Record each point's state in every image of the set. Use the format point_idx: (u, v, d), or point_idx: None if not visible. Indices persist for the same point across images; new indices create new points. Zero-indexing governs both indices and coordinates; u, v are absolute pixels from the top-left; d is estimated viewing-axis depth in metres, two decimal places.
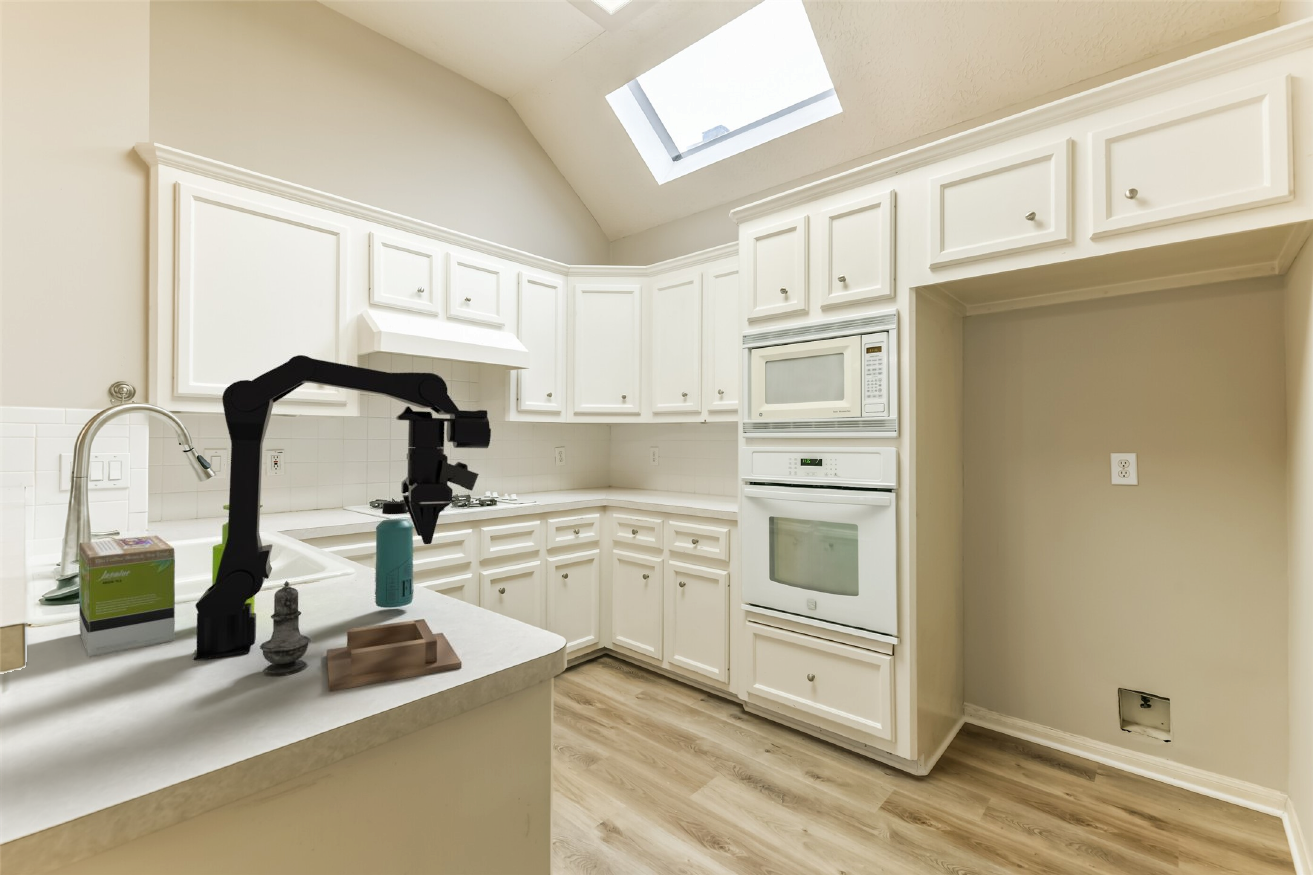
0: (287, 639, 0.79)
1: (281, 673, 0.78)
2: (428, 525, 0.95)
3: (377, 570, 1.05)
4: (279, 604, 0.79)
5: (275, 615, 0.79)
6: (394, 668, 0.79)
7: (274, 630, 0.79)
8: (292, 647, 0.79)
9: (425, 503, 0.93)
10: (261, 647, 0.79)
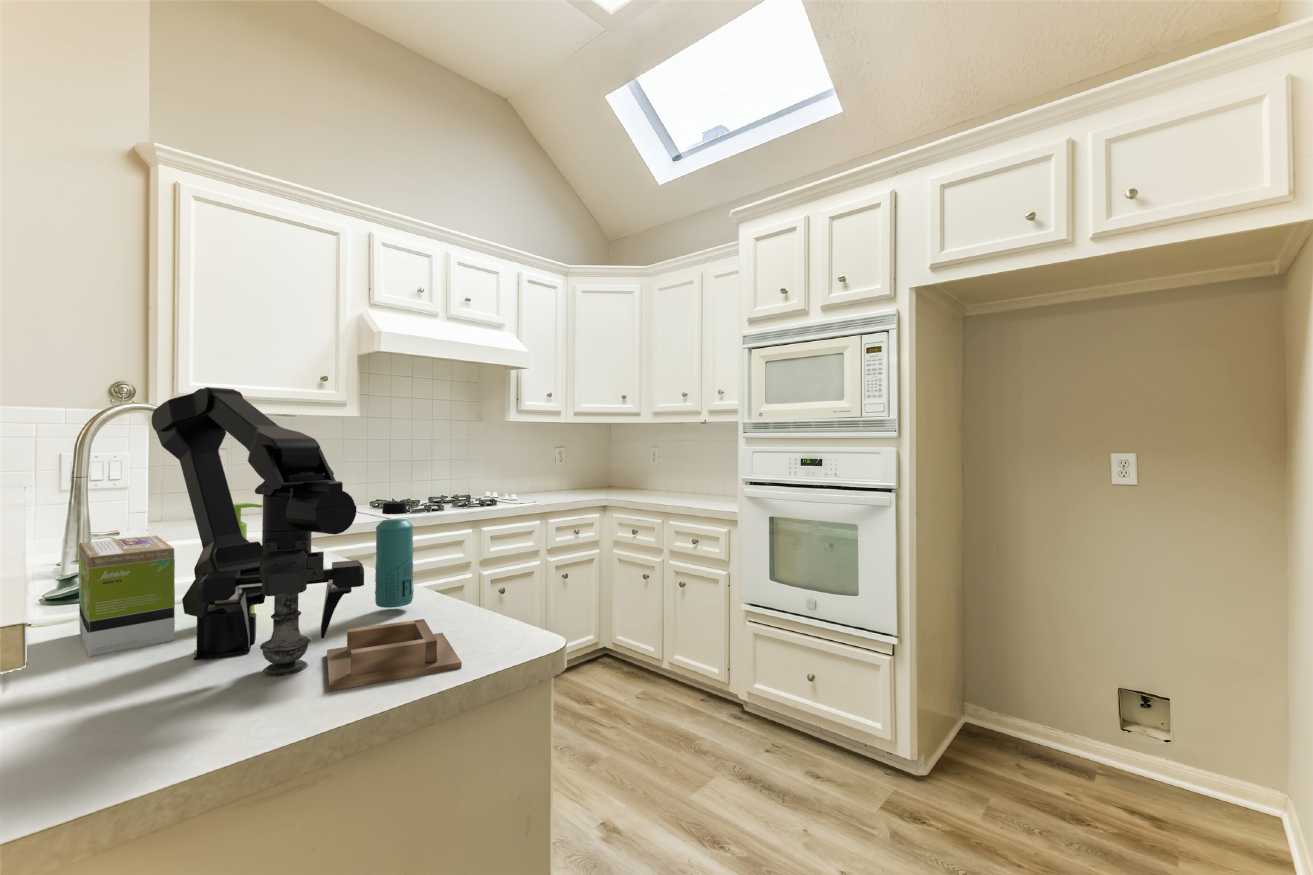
0: (287, 639, 0.79)
1: (281, 673, 0.78)
2: None
3: (377, 570, 1.05)
4: (279, 604, 0.79)
5: (275, 615, 0.79)
6: (394, 668, 0.79)
7: (274, 630, 0.79)
8: (292, 647, 0.79)
9: None
10: (261, 647, 0.79)
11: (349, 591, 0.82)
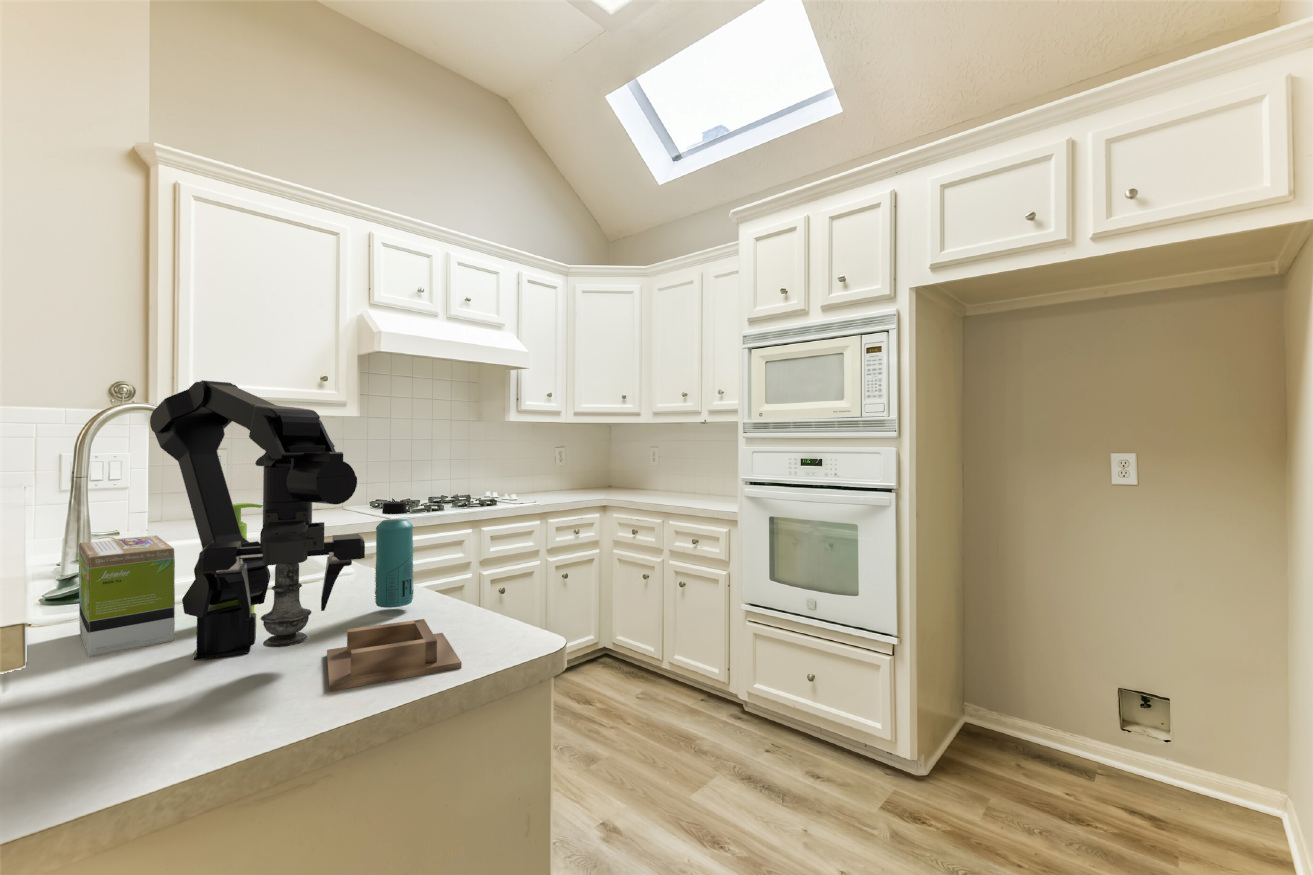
0: (290, 610, 0.79)
1: (285, 644, 0.79)
2: None
3: (377, 570, 1.05)
4: (281, 575, 0.79)
5: (277, 587, 0.79)
6: (394, 668, 0.79)
7: (276, 602, 0.79)
8: (296, 618, 0.79)
9: None
10: (263, 619, 0.78)
11: (349, 563, 0.82)
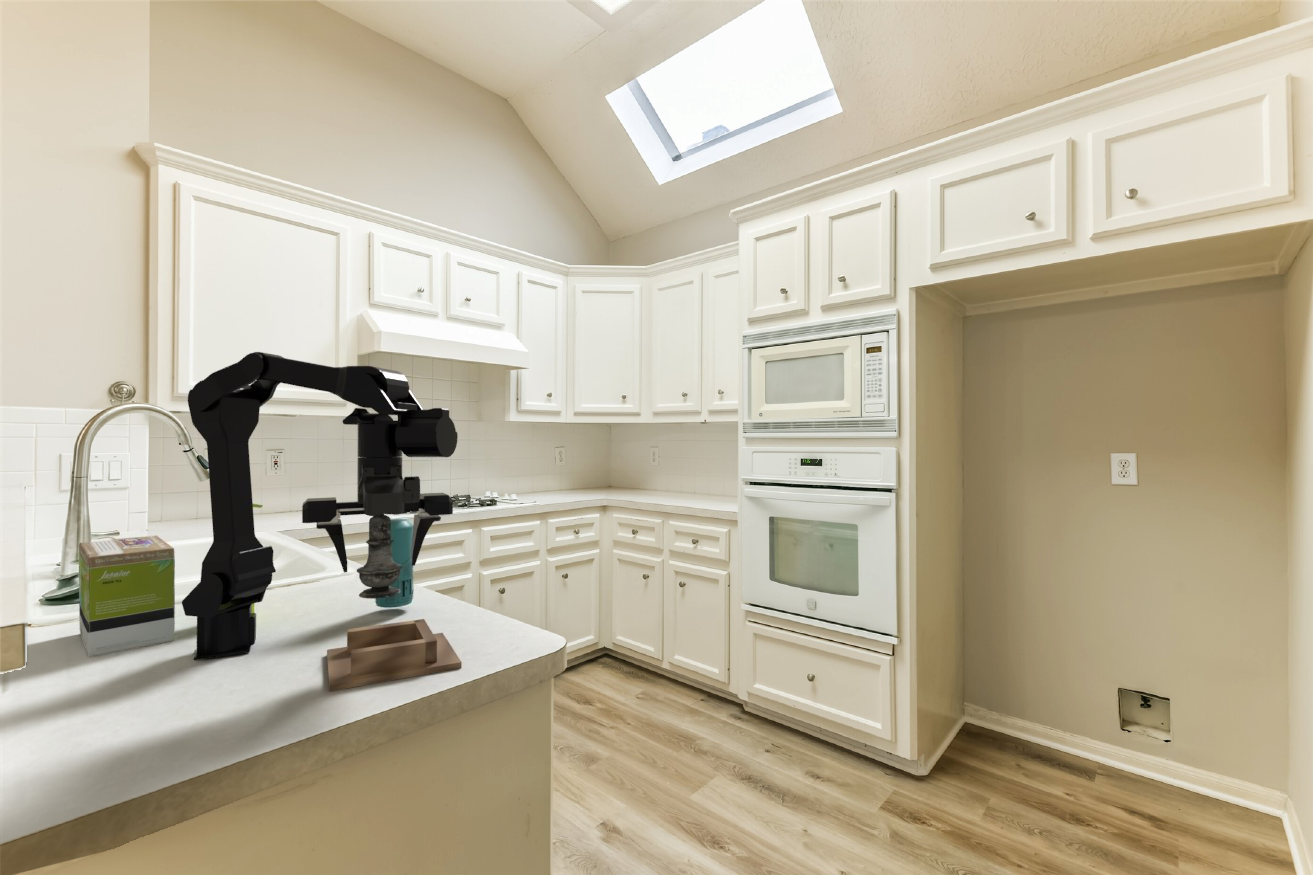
0: (385, 563, 0.82)
1: (381, 595, 0.81)
2: None
3: None
4: (376, 529, 0.82)
5: (372, 540, 0.82)
6: (394, 668, 0.79)
7: (371, 555, 0.82)
8: (391, 570, 0.81)
9: None
10: (359, 571, 0.81)
11: (439, 519, 0.84)
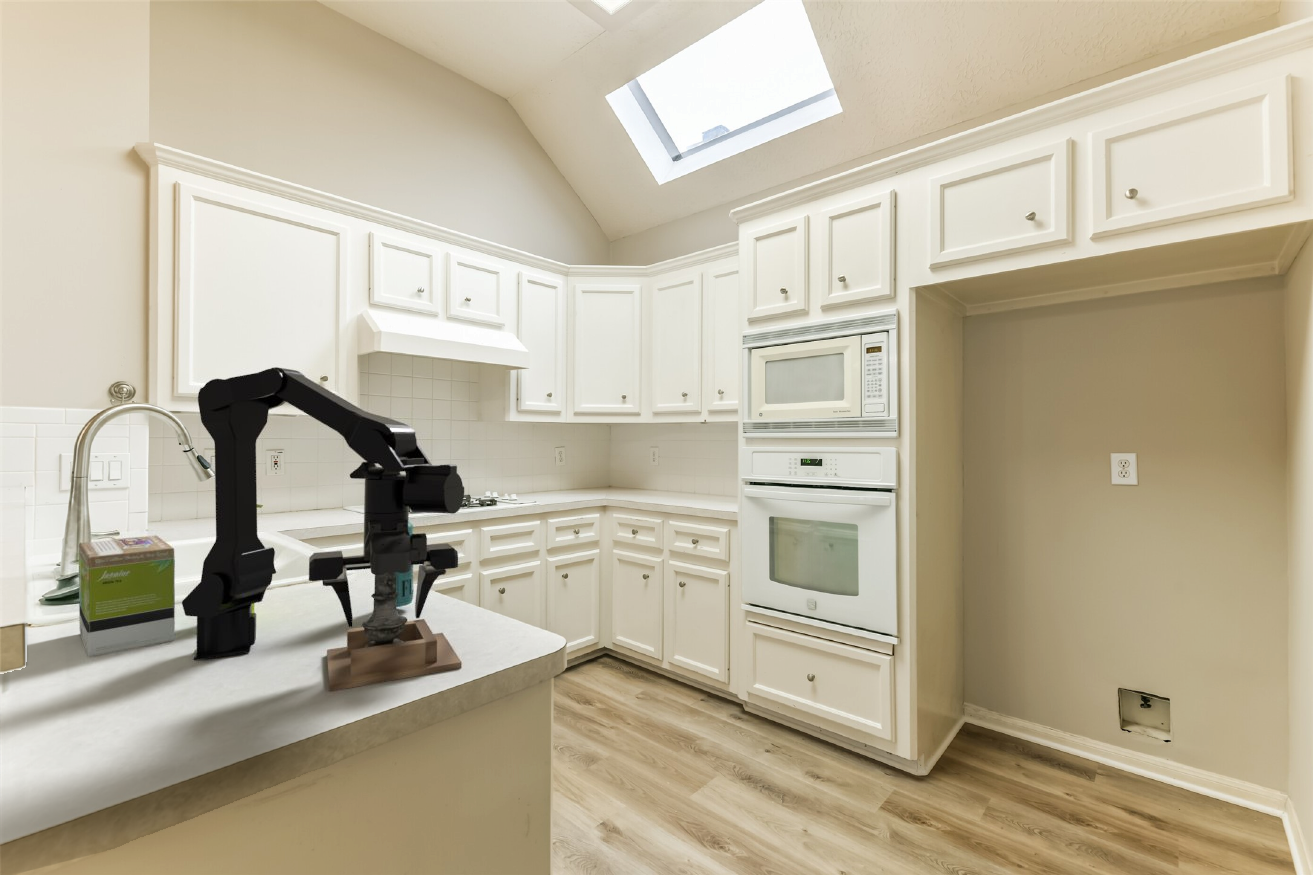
0: (390, 617, 0.82)
1: None
2: None
3: None
4: (381, 584, 0.82)
5: (377, 595, 0.82)
6: (394, 668, 0.79)
7: (376, 609, 0.82)
8: (396, 625, 0.82)
9: None
10: (365, 626, 0.81)
11: (444, 572, 0.85)
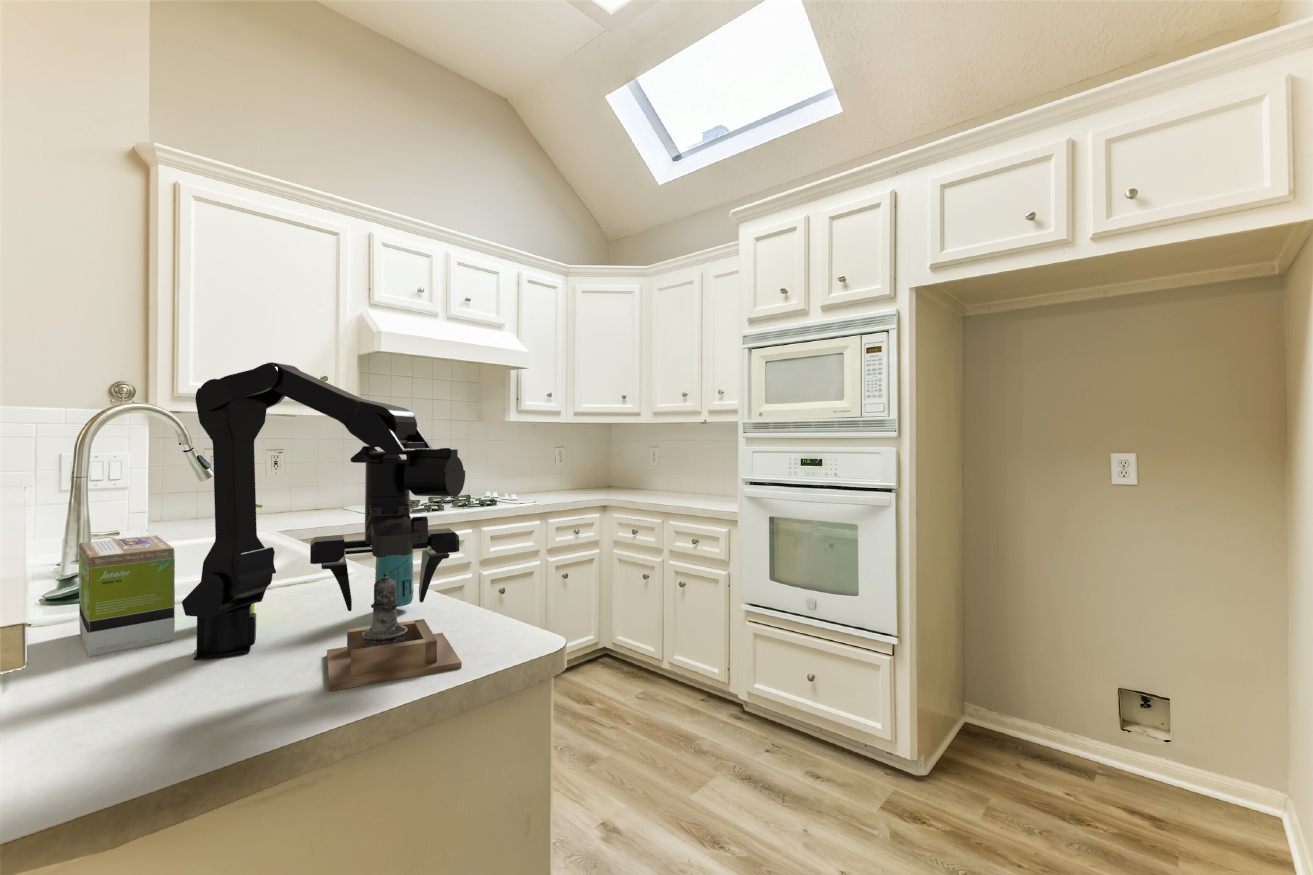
0: (372, 628, 0.82)
1: None
2: None
3: (377, 570, 1.05)
4: None
5: None
6: (394, 668, 0.79)
7: None
8: (365, 636, 0.81)
9: None
10: None
11: (448, 556, 0.85)
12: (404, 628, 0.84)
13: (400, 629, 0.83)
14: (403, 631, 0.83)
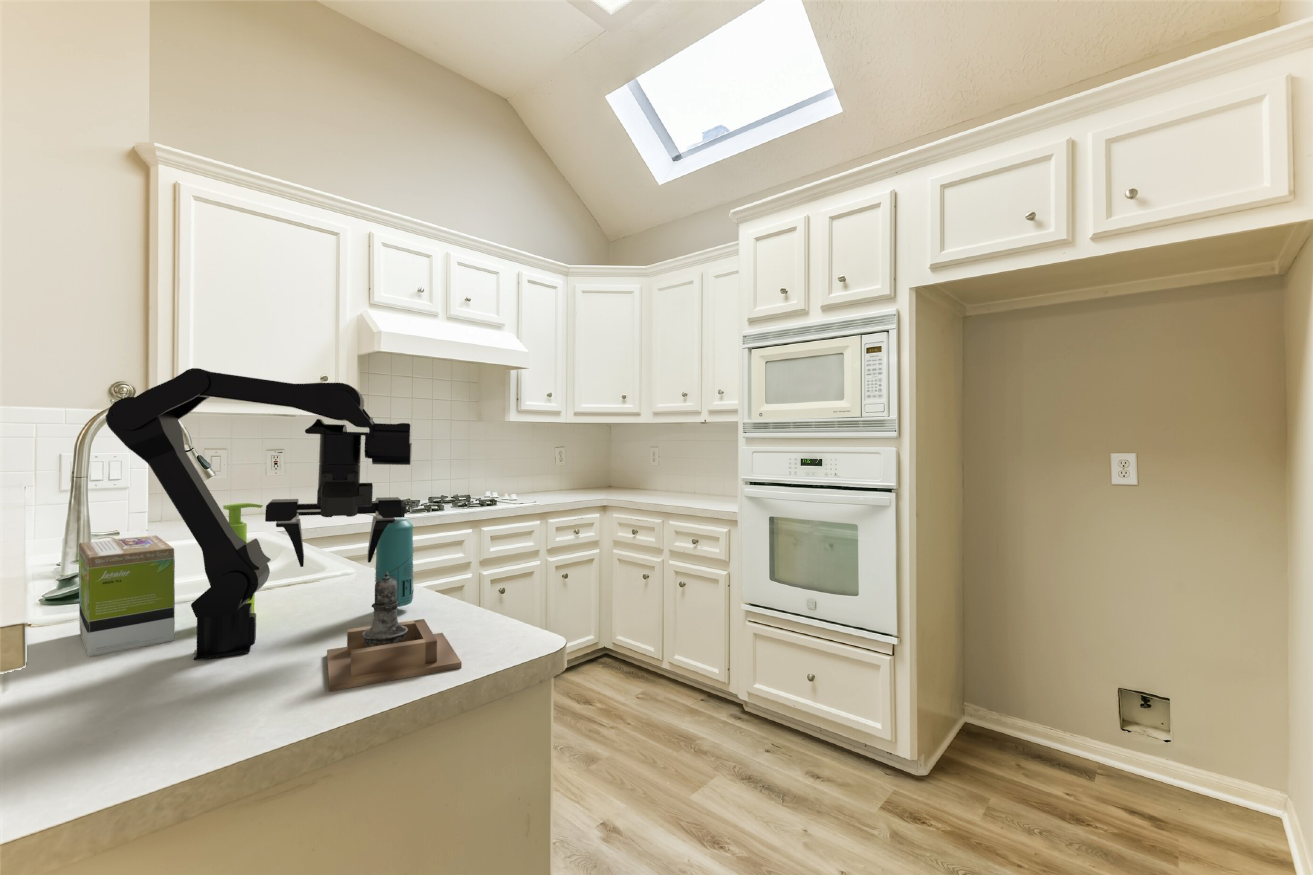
0: (372, 627, 0.82)
1: None
2: None
3: (377, 570, 1.05)
4: None
5: None
6: (394, 668, 0.79)
7: None
8: (366, 636, 0.81)
9: None
10: None
11: (393, 521, 0.94)
12: (404, 628, 0.84)
13: (400, 629, 0.83)
14: (403, 631, 0.83)
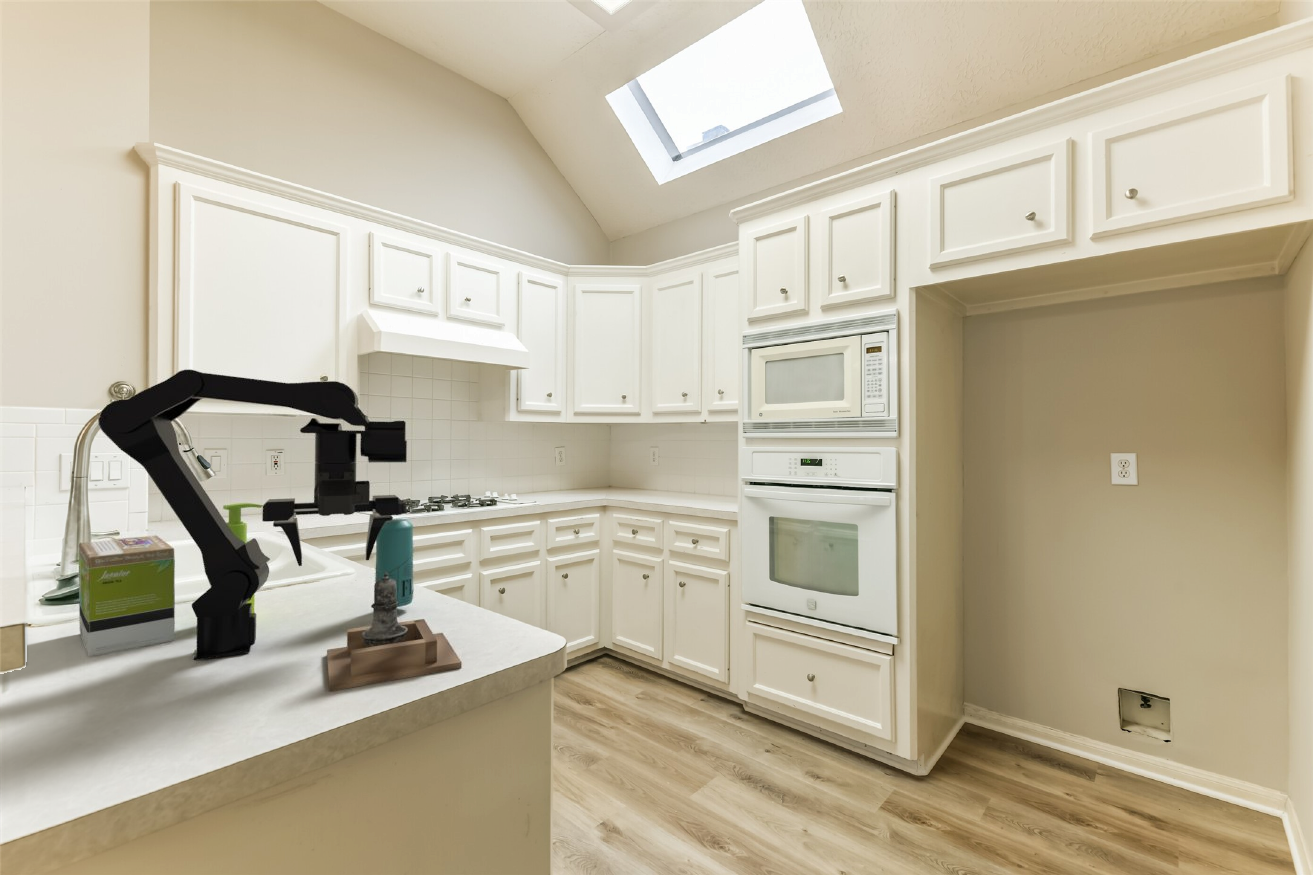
0: (372, 628, 0.82)
1: None
2: None
3: (377, 570, 1.05)
4: None
5: None
6: (394, 668, 0.79)
7: None
8: (365, 636, 0.81)
9: None
10: None
11: (391, 518, 0.94)
12: (404, 628, 0.84)
13: (400, 629, 0.83)
14: (403, 631, 0.83)
